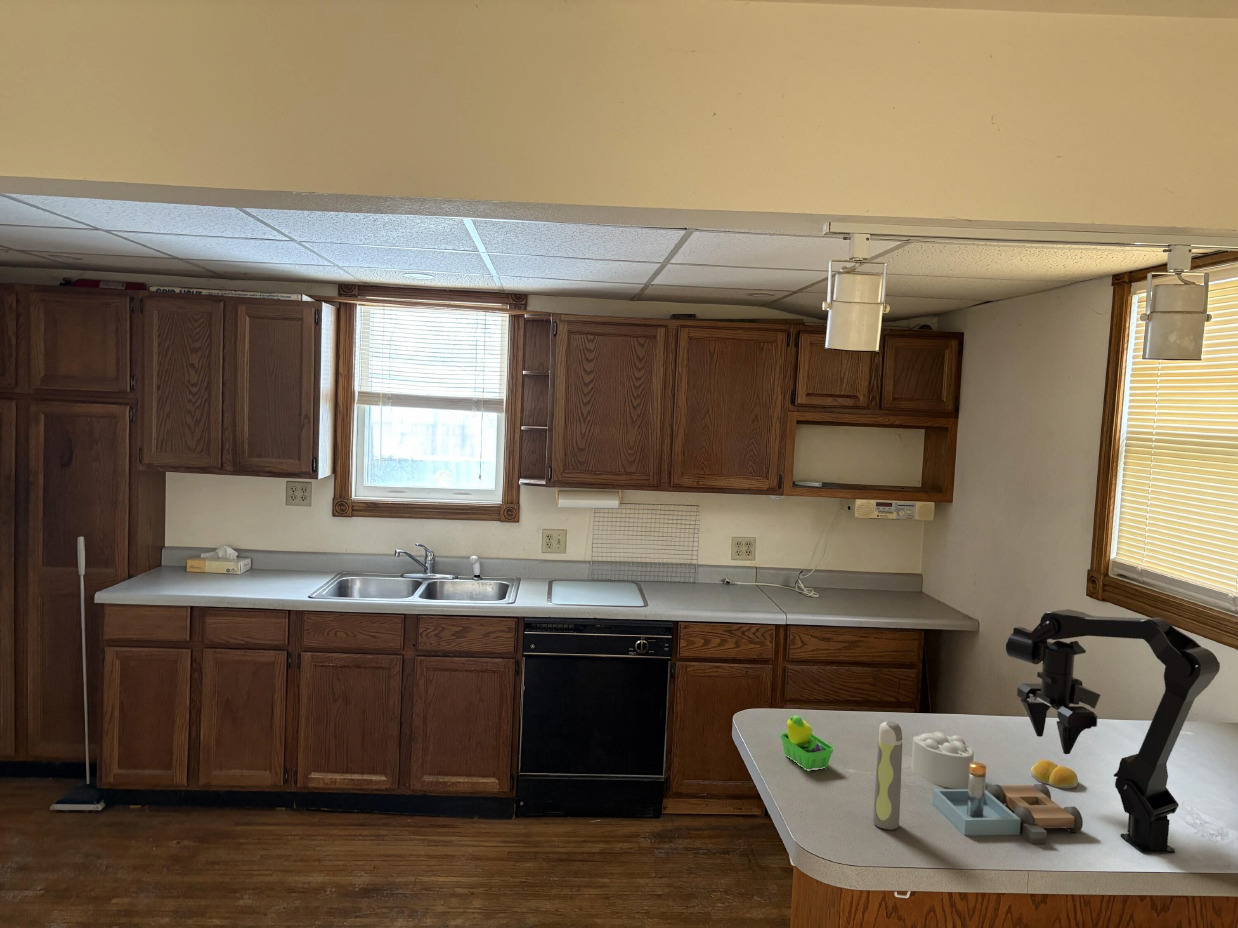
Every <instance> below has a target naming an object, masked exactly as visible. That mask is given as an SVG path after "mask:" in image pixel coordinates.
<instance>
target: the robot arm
mask: <svg viewBox="0 0 1238 928" xmlns="http://www.w3.org/2000/svg"><path fill="white" fill-rule="evenodd" d="M1039 622H1040V623H1038V624H1037V626H1036V627H1035V628H1034V629H1033V630H1030V629H1027V628H1025V627H1023V626H1014V627H1013V631H1012V633H1011V634H1010V635H1009V637H1008V639H1007V641H1006V643H1005V651H1006V654H1007V656H1008V657H1010V658H1012V659H1016V660H1018V661H1022V662H1025V663H1026V662H1027V663H1030V664H1033V665H1039V664H1040V663H1042V667H1041V671H1037V673H1036V675H1037V678H1039V679H1041V681H1040V682H1041V683H1035V682H1034V683H1028V682H1027V683H1021V684H1019V686H1018V687H1017V688H1016V689H1017V691H1016V696H1017V697H1018V698H1020V702H1021V703H1022V706H1024V709H1025V711H1026V713H1027V715H1028V717H1029V720H1030V723H1031V725H1032V728H1033V729H1034V732H1035V734H1036V736H1037V737H1038V738H1041V737H1043V736H1044V733H1045V728H1046V727H1045V726H1046V720H1047V713H1048V711H1049V709H1051V708H1053V709H1055V710H1056V711H1057V712H1056V713H1057V718H1058V720H1056V726H1057V730H1058V736H1059V741H1060V744H1061V749H1062V753H1063V754H1064V755H1070V754H1071V752H1072V750H1073V748H1074V746H1075V744H1076V742H1077V740H1078V737H1079V736H1080V735H1081V733H1082V732H1084V731H1085V730H1088V729H1089V730H1090V729H1092V728H1096V727H1098V720H1099V719H1098V716H1097V714H1096V713H1095V712H1094V711H1093V710H1091V709H1089V708H1087V707H1085V706H1083V705H1080V703H1081V704H1084V705H1087V706H1089V707H1090V708H1092V709H1096V707H1097V705H1098V703H1099V700H1100V697H1101V694H1100V693H1098V692H1096V691H1095V690H1092V689H1090V688H1088V687H1086V686H1083V680H1080V679H1079V678H1077V677H1074V671H1075V670H1074V669H1075V656H1078V655H1083V654H1086V653H1087V650H1086V649H1085V648H1084V647H1083V646H1082V645H1081V644H1080V642H1079V641H1078V640H1073V641H1069V642H1066V641H1063V640H1065V639H1071V638H1072V639H1073V638H1080V637H1081V638H1082V637H1086V636H1087V637H1101V638H1104V637H1105V638H1117V639H1119V638H1120V639H1133V640H1143V641H1144V642H1146V643H1147V645H1148V646H1149V647H1150V649H1151V651H1152V652H1153V654H1154V656H1155V657H1156V659H1157V660H1159V662H1161V664H1162V665H1164V667H1165V668H1164V672H1163V681H1164V693H1163V694H1162V696H1161V700H1160V701H1159V704H1158V706H1157V709H1156V711H1155V714H1154V716H1153V718H1152V721H1151V722H1150V724H1149V727H1148V730H1147V732H1146V734H1145V737H1144V739H1143V741H1142V743H1141V746H1140V748H1139V750H1138V752H1137V753H1135V754H1131V755H1127V756H1125V757H1122V758H1120V759H1121V760H1120V762H1119V765H1118V769H1117V771H1116V772H1115V773H1114V774H1113V777H1114V778H1115V777H1116V779H1115V782H1114V786H1115V787H1114V788H1116V790H1117V792H1118V794H1119V796H1120V800H1121V804H1122V808H1123V811H1124V812H1125V813H1126V814H1128V819H1127V833H1120V834H1119V835H1120V838H1122V839H1123V840H1125V842H1127V843H1129V844H1130V845H1132V846H1133V847H1135V848H1136V849H1137V850H1138V851H1139V852H1141V853H1142V854H1175V852H1176V849H1175V848H1174V847H1172V846H1171V845H1169V832H1170V819H1169V817H1168V815H1173V814H1175V813H1176V811H1177V810H1178V808H1179V806H1180V804H1179V803H1178V801H1177V800H1176V799H1175V797H1174V796H1173V795H1172V793H1171V792H1170V791H1169V788H1167V785H1168V784H1167V782H1168V779H1169V773H1168V767H1167V763H1168V760H1169V758H1170V756H1171V754H1172V751H1173V749H1174V748H1175V745H1176V742H1177V740H1178V737H1179V735H1180V734H1181V731H1182V728H1183V726H1184V725H1185V723H1186V720H1187V718H1188V715H1189V713H1190V711H1191V708H1192V706H1193V704H1194V702H1195V700H1196V698H1197V697H1198V696H1200V694H1202V693H1203V691H1204V690H1206V689H1207V688H1208V687H1209V686H1210V685H1211V684H1212V682H1213V681H1214V680H1215V677H1217V675H1218V674H1219V672H1220V668H1221V663H1220V661H1219V660H1218V657H1217V656H1216V655H1215V653H1213V652H1212V651H1211V650H1209V649H1208V648H1207V647H1203V646H1202V645H1200V644H1199V643H1198V642H1197V641H1196V640H1195V639H1193V638H1192V637H1190V636H1189V635H1187V634H1185V633H1184V632H1182V631H1180V630H1179V629H1177V628H1176V627H1174V626H1173V625H1172V624H1171V623H1170V622H1169V621H1167V620H1166V619H1165V618H1162V617H1159V616H1158V617H1152V618H1151V617H1150V618H1149V617H1147V618H1146V617H1127V616H1126V617H1120V616H1096V615H1092V614H1088V613H1086V612H1083V611H1080V610H1074V609H1069V608H1068V609H1067V608H1066V609H1060V610H1059V609H1058V610H1052V611H1046V612H1044V613H1043V614H1042V616H1041V618H1040V620H1039ZM1049 640H1052V641H1053V642H1052V641H1049ZM1072 705H1073V706H1072ZM1075 705H1076V706H1075Z"/></svg>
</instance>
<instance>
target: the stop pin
mask: <svg viewBox="0 0 1238 928" xmlns="http://www.w3.org/2000/svg"><path fill="white" fill-rule="evenodd" d="M986 777H987V765H986V764H984V763H982V762H977V761H973V762H971V763H970V768H969V785H968V801H967V815H968V816H970V817H973V818H983V812H984V796H985V790H986V781H987V780H986Z"/></svg>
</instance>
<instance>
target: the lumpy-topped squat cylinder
mask: <svg viewBox="0 0 1238 928" xmlns="http://www.w3.org/2000/svg"><path fill="white" fill-rule="evenodd" d="M911 752H912V753H911V754H912V755H911V765H910V766H911V769H912V770H911V769H910V770H911V771H912V773H914V774H915V773H916V774H915V775H917V776H918V775H919V776H918V777H920V778H921V777H922V779H923V780H925V781H926V782H929V783H931V784H933V785H936V786H939V787H943V788H947V789H968V785H969V768H970V763H971V762H974V758H975V757H974V755H975V754H974V751H973V749H972V747H971V746H970V745H968V744H967V743H966V741H965V739H964V738H963V737H962V736H960V735H952V736H950V735H947V734H945V733H943V732H942V731H935V732H928V733H927V732H924V733H922V734H920V735H915V736H913V737H912V749H911Z"/></svg>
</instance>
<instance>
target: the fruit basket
mask: <svg viewBox="0 0 1238 928" xmlns="http://www.w3.org/2000/svg"><path fill="white" fill-rule="evenodd" d="M786 726H787V731H786V732H782V733H780V735H779V736H780V738H781V739H780V740H781V741H782V742H781V743H782V746H783V750H784V755H785V754H786V755H787V756H789V757H791V758H792V759H793V760H795V761H797V763H799V764H800V765H802V766H803V767H804V768H806V769H812V768H822V767H825V768H826V767H827V768H828V766H829V763H830V760H831V757H832V754H833V753H834V751H835V748H834V747H833V746H832V745H830V744H829V743H828V742H826V741H824V740H822V739H821V738H819V737H818V736H816V735H814V734H813V728H812V726H811V725H810V724H808V723H807V722H806V721H805V720H803V719H802V717H801V716H799V715H793V716H790V717H789V719H788V720H787V723H786ZM827 768H826V769H827Z"/></svg>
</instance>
